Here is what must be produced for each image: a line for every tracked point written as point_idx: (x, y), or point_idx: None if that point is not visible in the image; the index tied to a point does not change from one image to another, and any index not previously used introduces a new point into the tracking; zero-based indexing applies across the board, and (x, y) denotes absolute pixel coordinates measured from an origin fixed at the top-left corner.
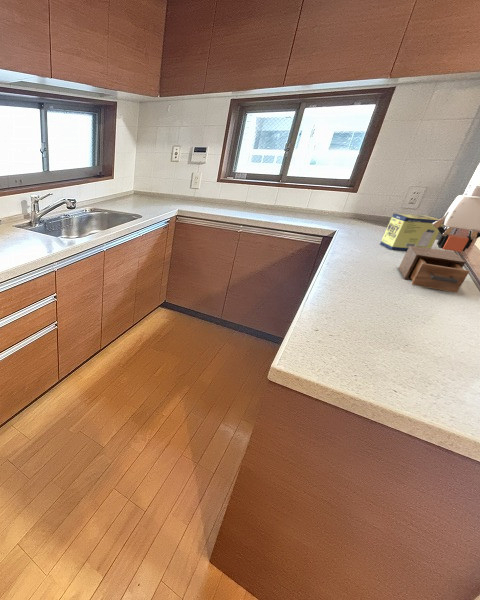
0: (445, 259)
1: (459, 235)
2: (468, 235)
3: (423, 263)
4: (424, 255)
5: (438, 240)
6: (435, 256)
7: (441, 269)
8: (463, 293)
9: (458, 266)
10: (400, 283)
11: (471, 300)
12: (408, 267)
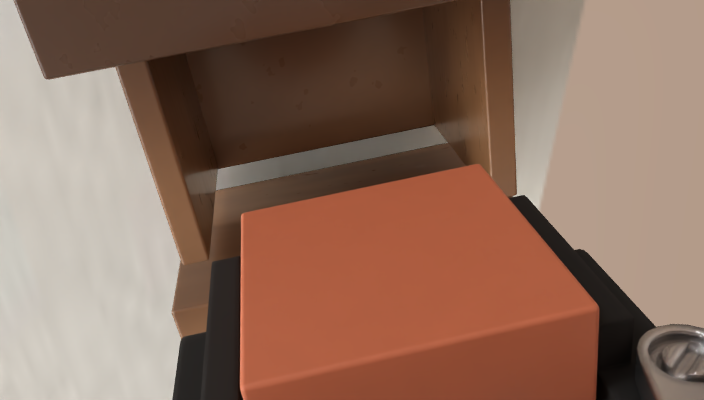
0: (373, 15)
1: (489, 371)
2: (648, 382)
3: (186, 321)
4: (132, 30)
5: (178, 374)
6: None
7: None
8: (520, 48)
9: (488, 109)
10: (127, 181)
11: (534, 185)
12: None
